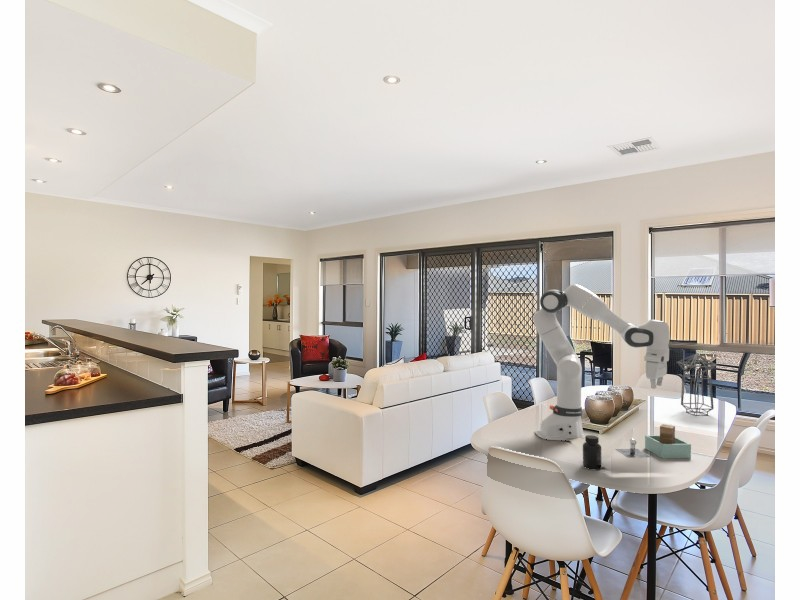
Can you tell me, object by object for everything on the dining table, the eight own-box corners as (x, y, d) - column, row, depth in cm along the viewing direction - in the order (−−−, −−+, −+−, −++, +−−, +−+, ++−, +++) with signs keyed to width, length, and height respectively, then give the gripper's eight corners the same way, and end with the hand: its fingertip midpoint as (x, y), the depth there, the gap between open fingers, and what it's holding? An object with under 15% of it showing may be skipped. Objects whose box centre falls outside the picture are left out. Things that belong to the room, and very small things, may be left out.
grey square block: (627, 461, 182) (628, 442, 182) (614, 452, 192) (615, 435, 192) (651, 460, 183) (651, 442, 183) (637, 452, 193) (637, 435, 193)
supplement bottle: (596, 463, 179) (596, 434, 179) (604, 470, 172) (605, 439, 172) (579, 463, 179) (579, 434, 179) (587, 470, 172) (587, 439, 172)
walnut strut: (672, 457, 185) (672, 428, 185) (659, 454, 188) (659, 426, 188) (674, 454, 188) (674, 426, 188) (662, 451, 191) (662, 423, 191)
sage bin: (662, 461, 182) (662, 444, 182) (644, 451, 194) (645, 435, 194) (690, 461, 182) (690, 444, 182) (671, 451, 194) (671, 435, 194)
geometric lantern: (719, 417, 250) (719, 356, 250) (691, 418, 251) (691, 356, 250) (701, 410, 266) (701, 352, 265) (674, 410, 267) (674, 352, 266)
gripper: (655, 353, 208) (654, 382, 209) (643, 357, 194) (642, 388, 194) (671, 355, 204) (670, 385, 204) (659, 358, 189) (658, 391, 189)
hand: (656, 386), depth 199 cm, fingers open, 8 cm apart
